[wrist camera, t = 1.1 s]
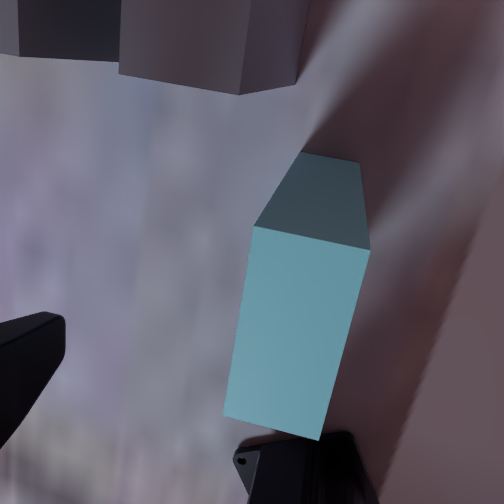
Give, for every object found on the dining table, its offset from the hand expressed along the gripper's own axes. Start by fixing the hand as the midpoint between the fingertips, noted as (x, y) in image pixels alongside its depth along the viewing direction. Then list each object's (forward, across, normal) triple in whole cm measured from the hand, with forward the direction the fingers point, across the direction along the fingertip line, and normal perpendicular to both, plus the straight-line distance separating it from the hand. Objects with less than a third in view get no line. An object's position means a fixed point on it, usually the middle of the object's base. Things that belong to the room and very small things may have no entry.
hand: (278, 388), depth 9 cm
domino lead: (+12, 0, 0) cm, 12 cm away
